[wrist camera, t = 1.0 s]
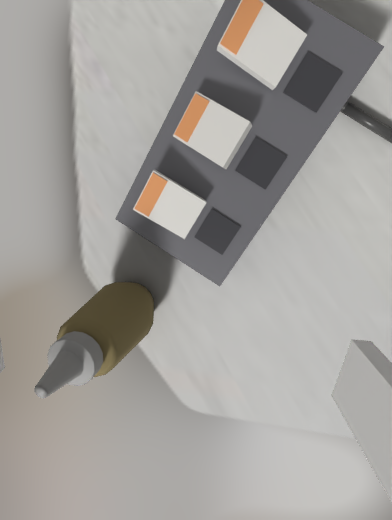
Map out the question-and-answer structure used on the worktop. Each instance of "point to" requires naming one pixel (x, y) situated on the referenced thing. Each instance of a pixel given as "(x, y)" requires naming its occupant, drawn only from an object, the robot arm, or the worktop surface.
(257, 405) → the worktop surface
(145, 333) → the squeeze bottle
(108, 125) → the worktop surface
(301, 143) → the power strip
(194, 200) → the rocker
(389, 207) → the worktop surface
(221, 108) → the middle rocker
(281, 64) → the rocker
